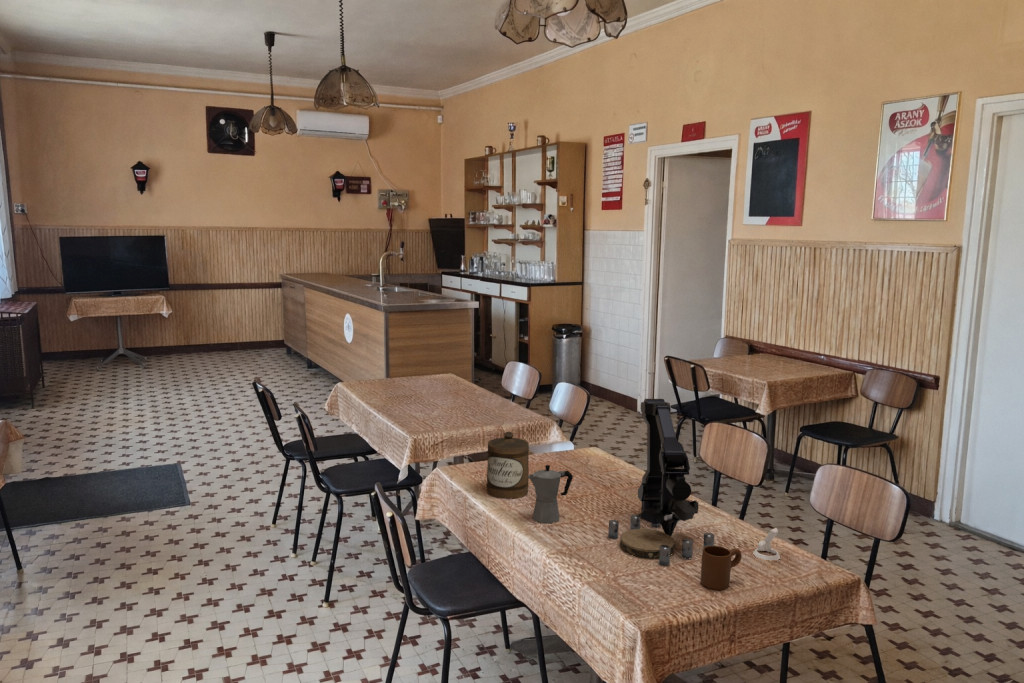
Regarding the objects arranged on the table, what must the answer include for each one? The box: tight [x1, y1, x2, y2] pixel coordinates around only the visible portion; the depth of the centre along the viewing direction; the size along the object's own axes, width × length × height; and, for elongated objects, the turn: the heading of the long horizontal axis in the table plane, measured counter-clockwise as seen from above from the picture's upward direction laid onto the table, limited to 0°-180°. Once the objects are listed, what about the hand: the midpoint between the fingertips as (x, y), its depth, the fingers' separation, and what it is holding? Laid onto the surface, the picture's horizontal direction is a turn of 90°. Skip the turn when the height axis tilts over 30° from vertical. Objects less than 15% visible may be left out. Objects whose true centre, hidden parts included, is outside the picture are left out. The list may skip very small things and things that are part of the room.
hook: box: [752, 527, 781, 561], centre depth 220 cm, size 8×12×7 cm
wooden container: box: [486, 431, 530, 499], centre depth 271 cm, size 15×15×22 cm
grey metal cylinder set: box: [607, 514, 715, 567], centre depth 229 cm, size 25×21×5 cm
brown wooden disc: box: [619, 528, 675, 560], centre depth 226 cm, size 16×16×3 cm
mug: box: [700, 545, 743, 591], centre depth 204 cm, size 12×8×9 cm, turn 114°
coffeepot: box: [528, 464, 573, 524], centre depth 247 cm, size 15×9×18 cm, turn 107°
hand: (668, 538), depth 231 cm, fingers closed
